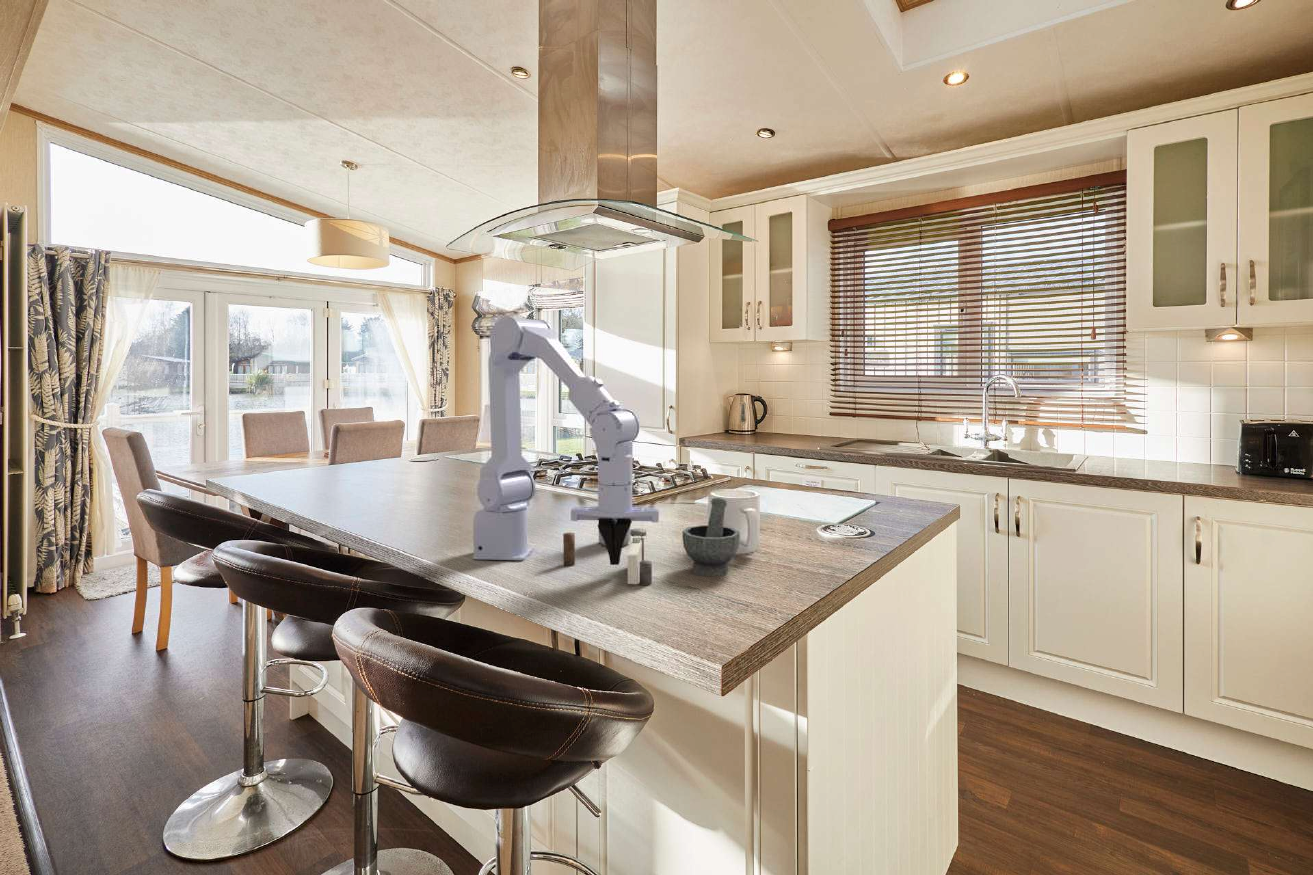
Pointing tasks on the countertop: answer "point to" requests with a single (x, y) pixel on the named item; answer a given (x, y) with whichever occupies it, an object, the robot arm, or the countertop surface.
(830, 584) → the countertop surface
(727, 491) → the mug
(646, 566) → the posts
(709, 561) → the mortar and pestle
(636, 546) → the gate
